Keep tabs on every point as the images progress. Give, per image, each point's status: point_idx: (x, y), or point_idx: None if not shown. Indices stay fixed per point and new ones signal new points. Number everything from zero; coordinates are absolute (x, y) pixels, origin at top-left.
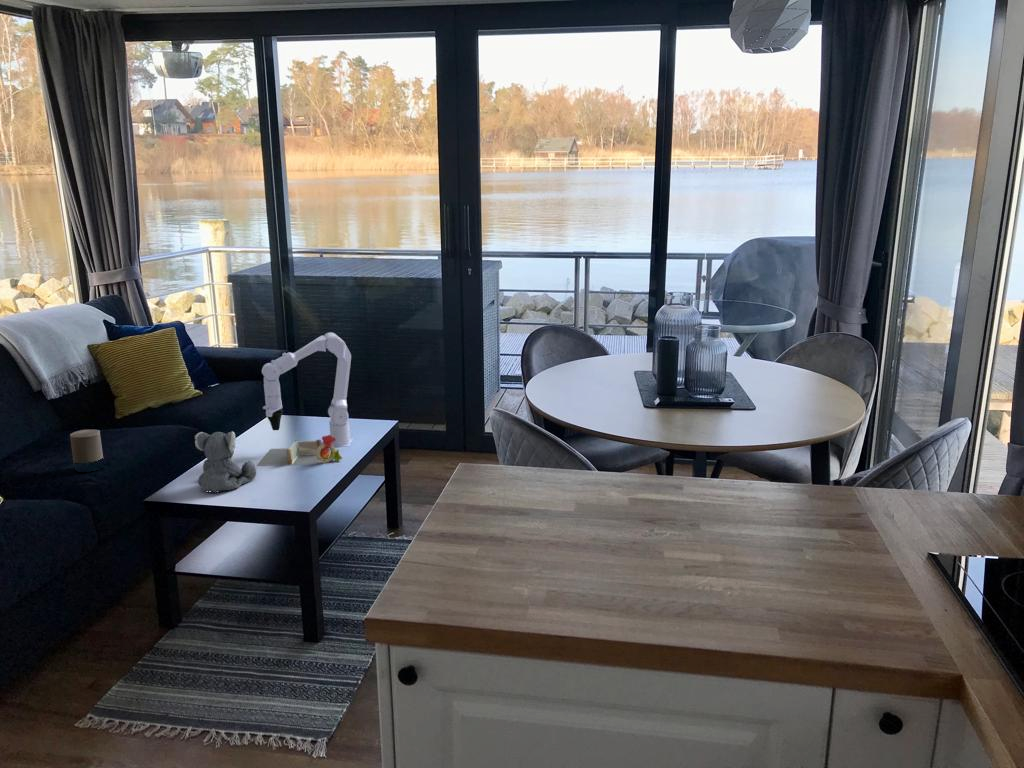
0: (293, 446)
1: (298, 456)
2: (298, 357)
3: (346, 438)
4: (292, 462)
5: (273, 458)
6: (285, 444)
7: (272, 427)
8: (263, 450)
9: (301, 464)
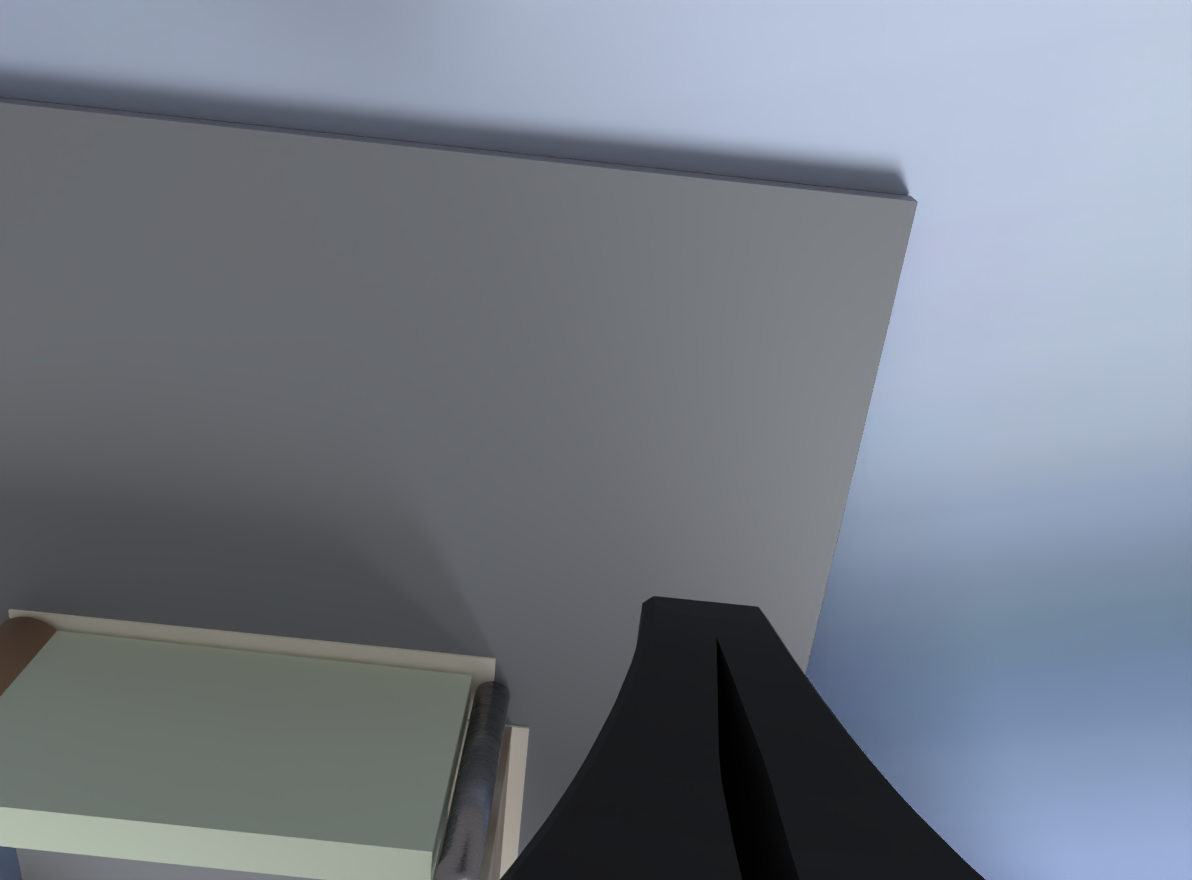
0: (147, 855)
1: None
2: None
3: None
4: None
5: (297, 354)
6: (1180, 428)
7: (638, 656)
8: (931, 37)
9: None
